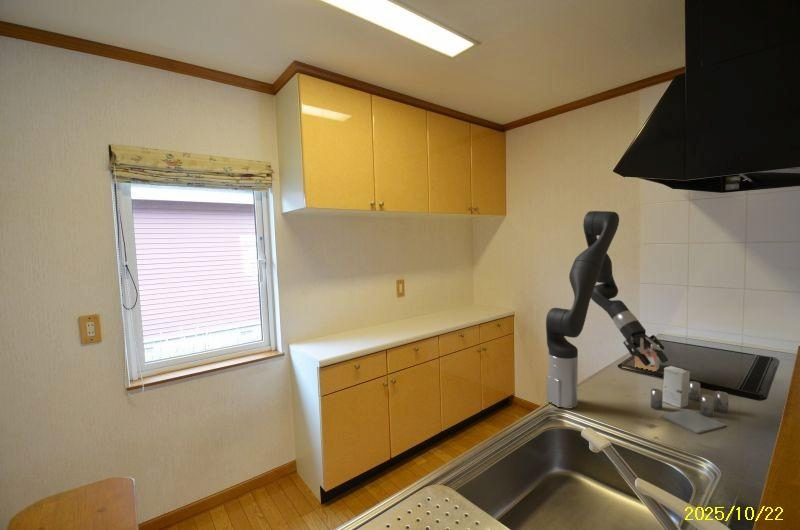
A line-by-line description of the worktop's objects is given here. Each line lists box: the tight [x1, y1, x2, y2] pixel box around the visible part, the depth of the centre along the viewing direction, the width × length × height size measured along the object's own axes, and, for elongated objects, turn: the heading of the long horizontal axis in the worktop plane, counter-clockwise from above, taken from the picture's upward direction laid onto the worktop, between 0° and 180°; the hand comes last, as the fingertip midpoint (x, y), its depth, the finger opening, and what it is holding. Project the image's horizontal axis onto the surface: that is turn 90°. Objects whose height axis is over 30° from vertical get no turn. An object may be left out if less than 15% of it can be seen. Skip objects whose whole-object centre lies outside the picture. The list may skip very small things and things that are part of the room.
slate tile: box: [659, 408, 727, 434], centre depth 113 cm, size 12×11×1 cm
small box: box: [634, 345, 660, 372], centre depth 160 cm, size 8×6×10 cm
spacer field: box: [650, 380, 730, 418], centre depth 121 cm, size 21×12×6 cm, turn 108°
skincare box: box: [662, 365, 691, 408], centre depth 125 cm, size 6×4×12 cm
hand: (657, 363), depth 131 cm, fingers open, 8 cm apart
